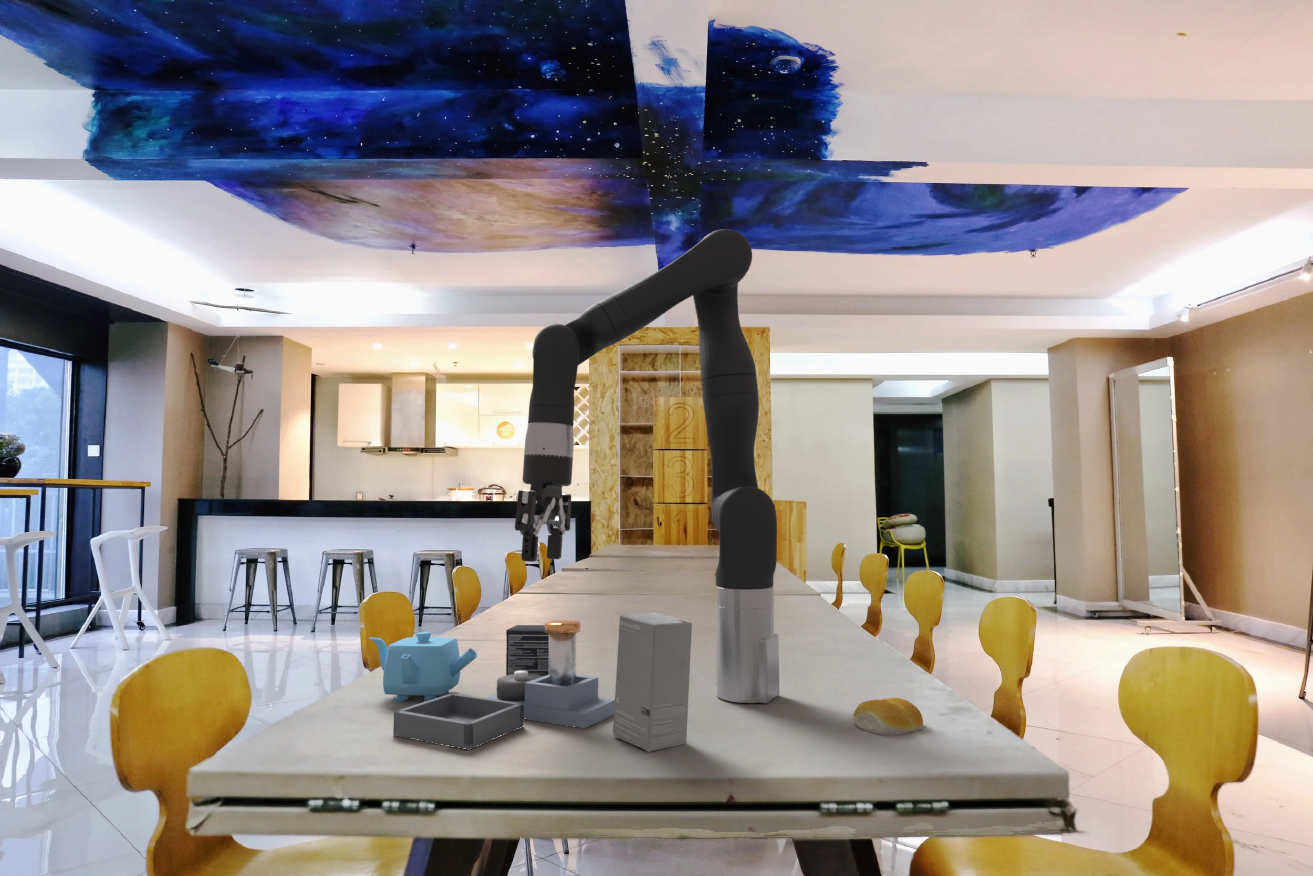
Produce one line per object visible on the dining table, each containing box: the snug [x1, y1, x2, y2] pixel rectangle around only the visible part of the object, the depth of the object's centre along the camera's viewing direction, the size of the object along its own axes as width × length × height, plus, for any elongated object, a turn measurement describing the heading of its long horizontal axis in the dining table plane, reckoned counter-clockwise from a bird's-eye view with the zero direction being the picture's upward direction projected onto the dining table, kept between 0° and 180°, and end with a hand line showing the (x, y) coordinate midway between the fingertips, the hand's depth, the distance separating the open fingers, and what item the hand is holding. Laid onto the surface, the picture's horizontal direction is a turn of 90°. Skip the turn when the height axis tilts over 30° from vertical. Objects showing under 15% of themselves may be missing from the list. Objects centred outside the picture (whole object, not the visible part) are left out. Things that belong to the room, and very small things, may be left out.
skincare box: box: [612, 612, 693, 753], centre depth 97 cm, size 8×7×16 cm
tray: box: [392, 692, 525, 749], centre depth 100 cm, size 13×11×3 cm
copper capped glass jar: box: [544, 619, 581, 686], centre depth 108 cm, size 5×5×11 cm
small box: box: [505, 624, 549, 676], centre depth 122 cm, size 11×6×10 cm, turn 84°
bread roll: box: [852, 697, 924, 736], centre depth 102 cm, size 8×9×4 cm
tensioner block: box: [483, 671, 615, 729], centre depth 109 cm, size 18×8×5 cm, turn 62°
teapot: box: [368, 631, 478, 703], centre depth 118 cm, size 18×14×10 cm
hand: (541, 560), depth 113 cm, fingers open, 8 cm apart
